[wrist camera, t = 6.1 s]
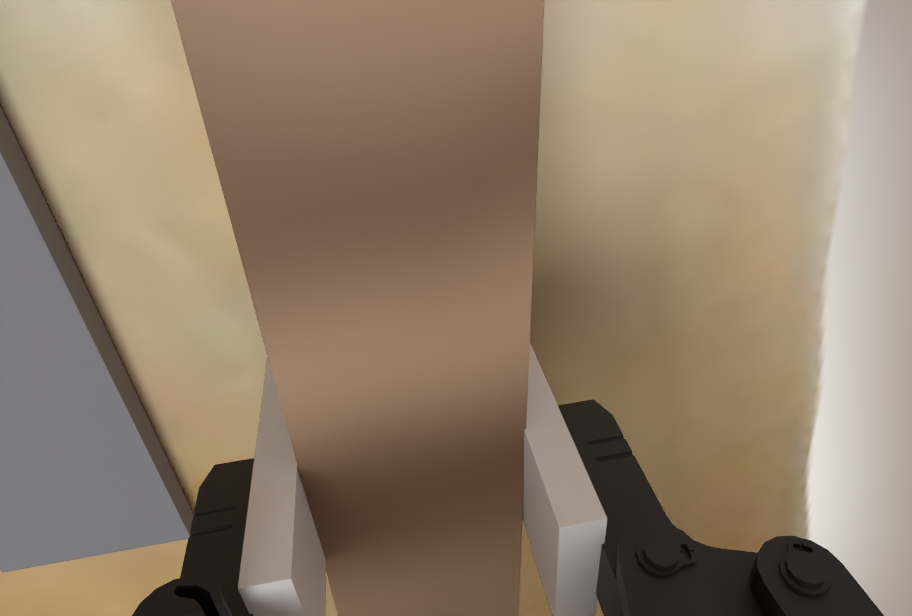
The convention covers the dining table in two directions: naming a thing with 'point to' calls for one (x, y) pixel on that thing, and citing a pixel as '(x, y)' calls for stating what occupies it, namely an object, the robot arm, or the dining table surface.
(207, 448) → the dining table surface
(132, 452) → the tool rest mat
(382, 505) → the walnut bar
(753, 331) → the dining table surface
